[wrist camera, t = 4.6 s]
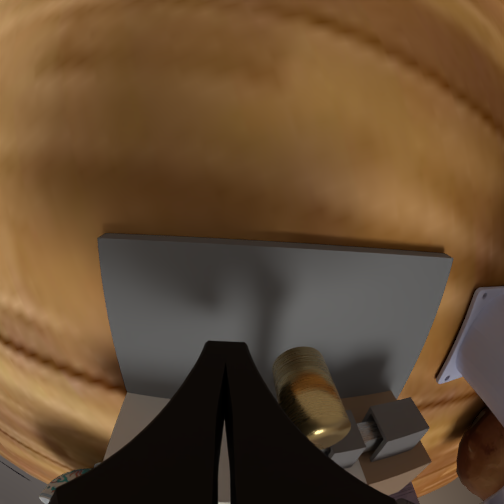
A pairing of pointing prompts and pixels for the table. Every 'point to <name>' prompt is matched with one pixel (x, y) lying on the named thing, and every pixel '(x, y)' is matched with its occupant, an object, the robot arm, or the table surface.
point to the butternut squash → (482, 456)
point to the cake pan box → (406, 495)
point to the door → (277, 330)
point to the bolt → (316, 400)
